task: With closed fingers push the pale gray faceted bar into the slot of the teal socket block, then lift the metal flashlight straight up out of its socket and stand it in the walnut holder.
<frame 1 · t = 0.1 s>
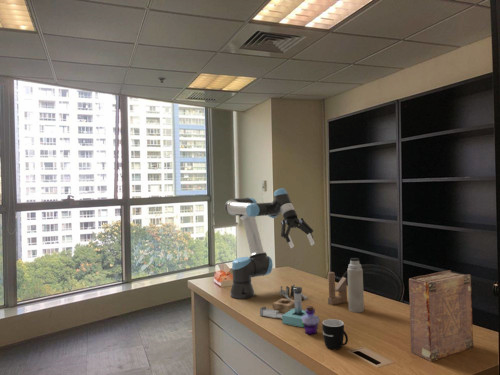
hand: (302, 246, 202), 36 cm above the table, tool tilted 35°, fingers open, 13 cm apart
mug: (336, 348, 158), on the table
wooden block: (337, 303, 216), on the table
potion bottle: (310, 332, 175), on the table
metal flashlight: (298, 304, 189), in the socket block
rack: (285, 311, 205), on the table
bike brake: (295, 299, 226), on the table
thermos bottle: (356, 310, 203), on the table
socket block: (298, 321, 189), on the table
pale gray faceted bar: (272, 313, 197), point 2 cm above the table, slide at 0.0 cm
book: (442, 350, 152), on the table
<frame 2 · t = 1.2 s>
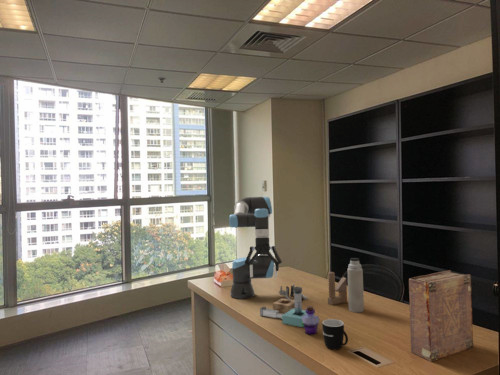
hand: (263, 277, 201), 20 cm above the table, tool pointing down, fingers open, 13 cm apart
nothing on the table moved.
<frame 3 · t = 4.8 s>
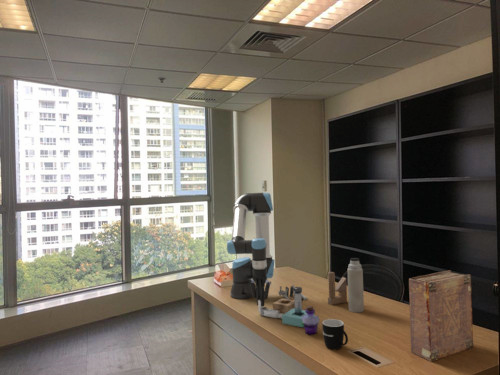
hand: (260, 311, 201), 2 cm above the table, tool pointing down, fingers closed
pale gray faceted bar: (273, 313, 197), point 2 cm above the table, slide at 0.4 cm, touching gripper
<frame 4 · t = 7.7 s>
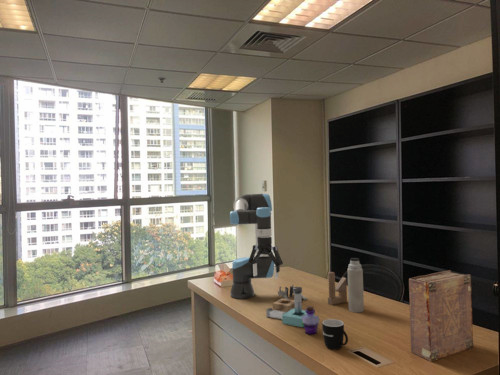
hand: (265, 277, 199), 21 cm above the table, tool pointing down, fingers open, 12 cm apart
pale gray faceted bar: (279, 314, 195), point 2 cm above the table, slide at 3.9 cm
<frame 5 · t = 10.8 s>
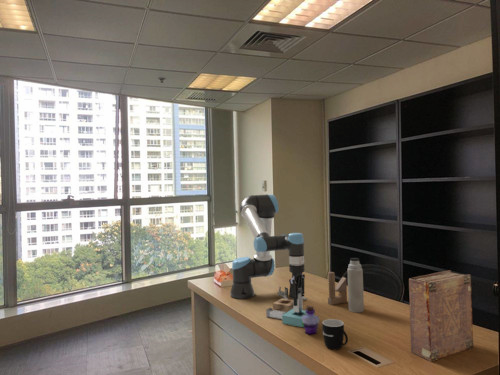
hand: (298, 310, 189), 6 cm above the table, tool pointing down, fingers closed on metal flashlight, 3 cm apart
metal flashlight: (298, 304, 189), in the socket block, touching gripper
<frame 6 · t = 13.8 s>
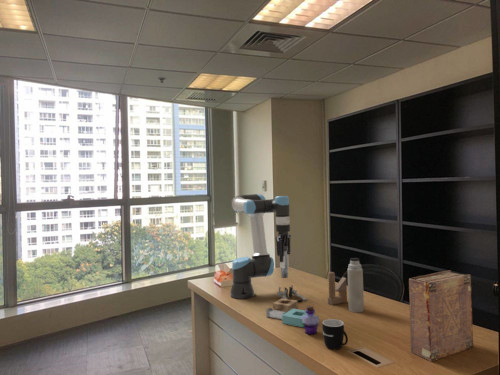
hand: (284, 267, 205), 24 cm above the table, tool pointing down, fingers closed on metal flashlight, 3 cm apart
metal flashlight: (284, 261, 205), point 27 cm above the table, touching gripper
when the fingers open (7 cm above the table, at t = 17.1 s): metal flashlight stays where it is, resting in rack.
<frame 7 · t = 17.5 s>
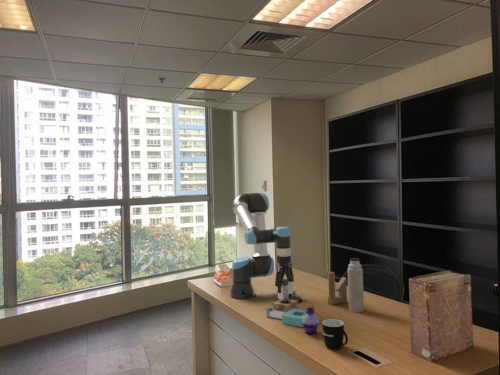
hand: (285, 296, 205), 8 cm above the table, tool pointing down, fingers open, 10 cm apart
metal flashlight: (285, 295, 205), in the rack
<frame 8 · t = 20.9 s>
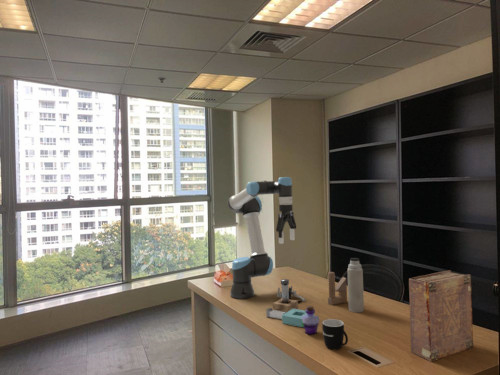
hand: (287, 241, 213), 37 cm above the table, tool pointing down, fingers open, 13 cm apart
at the end: pale gray faceted bar slide at 3.9 cm; metal flashlight 0.1 cm off-centre on the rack, point 8.5 cm above the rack's base; metal flashlight tilted 0° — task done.
